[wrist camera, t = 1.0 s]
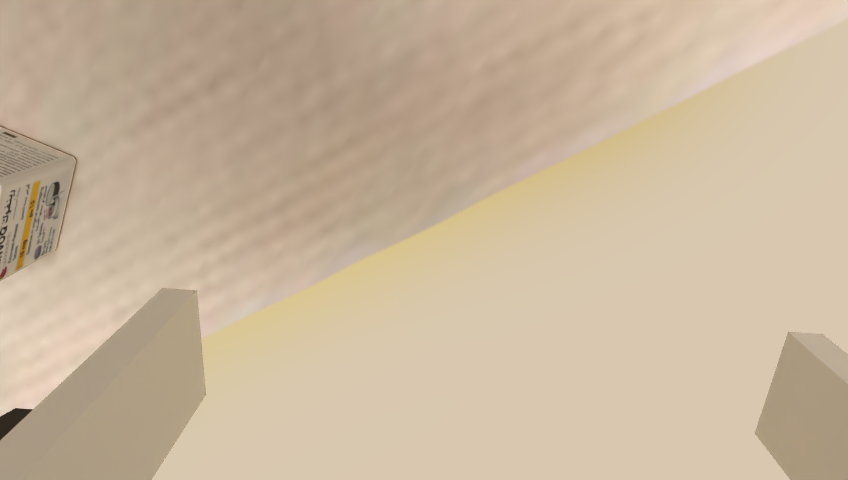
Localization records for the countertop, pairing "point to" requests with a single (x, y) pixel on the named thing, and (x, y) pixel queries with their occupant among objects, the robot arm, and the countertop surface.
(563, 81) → the countertop surface
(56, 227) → the container
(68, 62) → the countertop surface
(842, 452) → the robot arm
